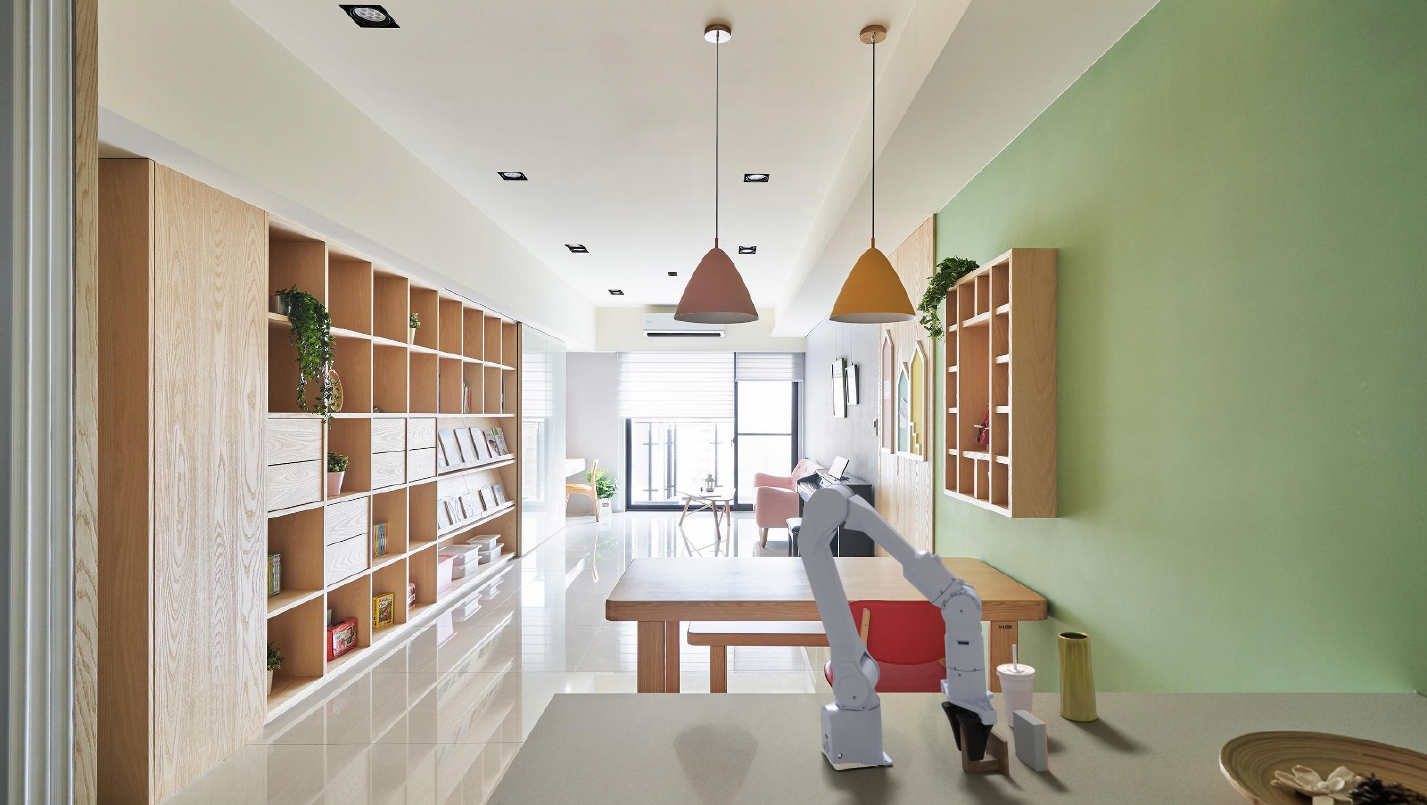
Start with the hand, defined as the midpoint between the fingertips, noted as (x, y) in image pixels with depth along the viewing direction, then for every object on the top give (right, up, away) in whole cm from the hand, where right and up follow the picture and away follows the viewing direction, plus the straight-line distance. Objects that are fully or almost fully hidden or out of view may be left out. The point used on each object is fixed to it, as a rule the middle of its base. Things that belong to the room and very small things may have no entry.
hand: (970, 754), depth 117 cm
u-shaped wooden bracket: (+2, -2, 0) cm, 3 cm away
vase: (+26, -2, +19) cm, 32 cm away
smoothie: (+14, -2, +16) cm, 21 cm away
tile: (+10, -2, +1) cm, 10 cm away
